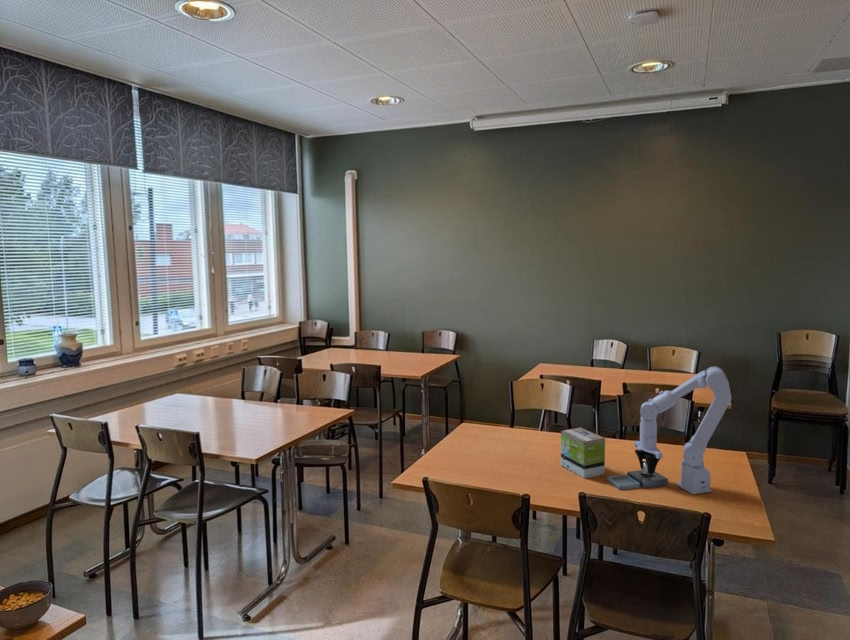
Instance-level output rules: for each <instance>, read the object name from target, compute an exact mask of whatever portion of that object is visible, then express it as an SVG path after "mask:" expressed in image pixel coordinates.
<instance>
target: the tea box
mask: <svg viewBox="0 0 850 640" xmlns="http://www.w3.org/2000/svg"><path fill="white" fill-rule="evenodd" d="M605 456H606V437H604V436H601V435H599V434H596V433H594V432H592V431H589V430H587V429H585V428H583V427H576V428H570V429H565V430H561V431H560V466H561V467H564V468H565V469H567V470H569V471H571V472H573V473H574V474H575V475H576V474H577V476H579V477H581V478H582V479H589V478H592V477H593V478H594V477H598V476H602V475H605V467H606V466H605V464H606V463H605V462H606V460H605V459H606V457H605ZM588 477H589V478H588Z"/></svg>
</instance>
